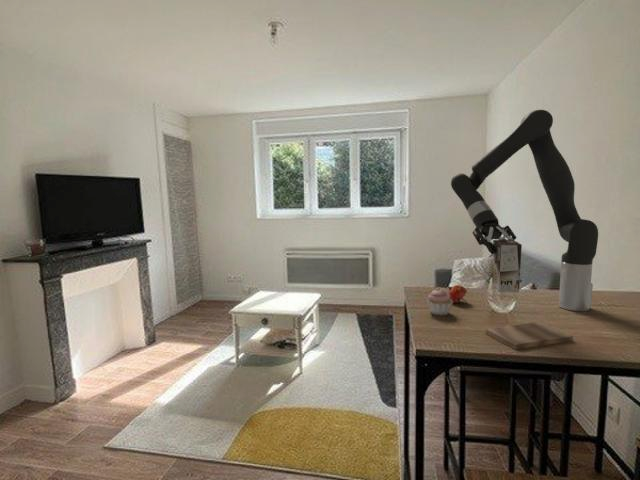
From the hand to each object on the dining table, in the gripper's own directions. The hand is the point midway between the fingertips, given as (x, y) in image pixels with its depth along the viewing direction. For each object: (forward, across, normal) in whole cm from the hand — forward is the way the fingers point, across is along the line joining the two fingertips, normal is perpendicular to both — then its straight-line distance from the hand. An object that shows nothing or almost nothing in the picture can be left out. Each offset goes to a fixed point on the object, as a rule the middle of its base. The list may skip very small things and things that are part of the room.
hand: (504, 252), depth 118 cm
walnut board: (+27, -4, +6) cm, 28 cm away
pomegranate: (+2, -3, +32) cm, 32 cm away
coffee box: (+10, 0, +8) cm, 13 cm away
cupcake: (+9, -17, +25) cm, 32 cm away
